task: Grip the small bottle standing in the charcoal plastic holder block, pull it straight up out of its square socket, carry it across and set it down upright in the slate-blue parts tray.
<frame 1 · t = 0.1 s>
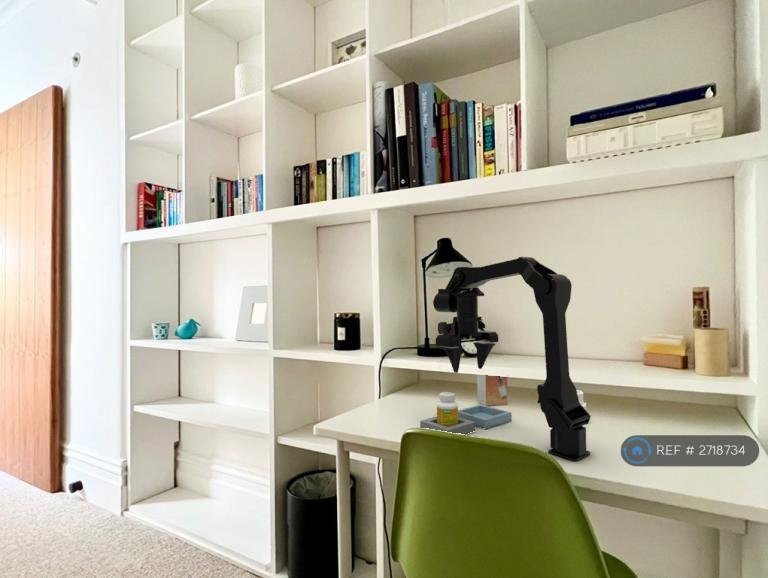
hand: (468, 370, 116), 15 cm above the table, tool pointing down, fingers open, 9 cm apart
holder: (447, 431, 111), on the table
parts tray: (482, 420, 119), on the table
pipe fitting: (573, 421, 118), on the table
small box: (492, 404, 138), on the table
supplement bottle: (447, 432, 111), resting in holder
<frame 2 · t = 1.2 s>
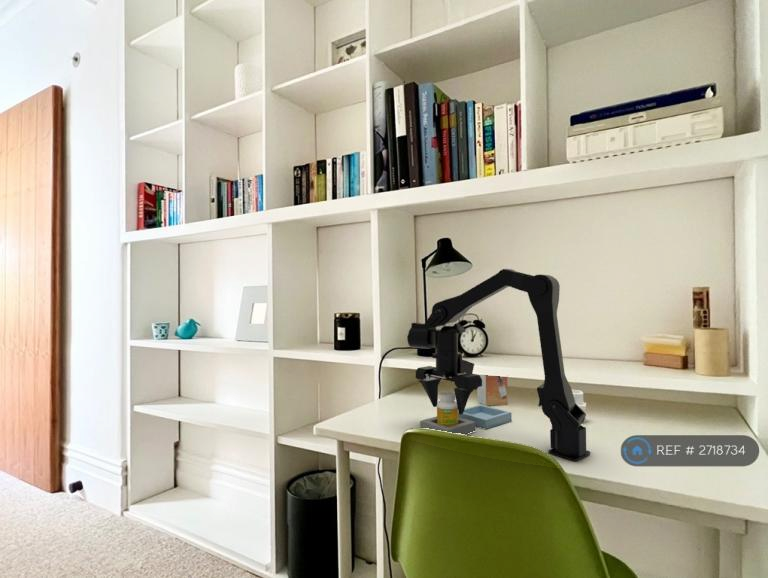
hand: (447, 410, 111), 5 cm above the table, tool pointing down, fingers open, 9 cm apart
nothing on the table moved.
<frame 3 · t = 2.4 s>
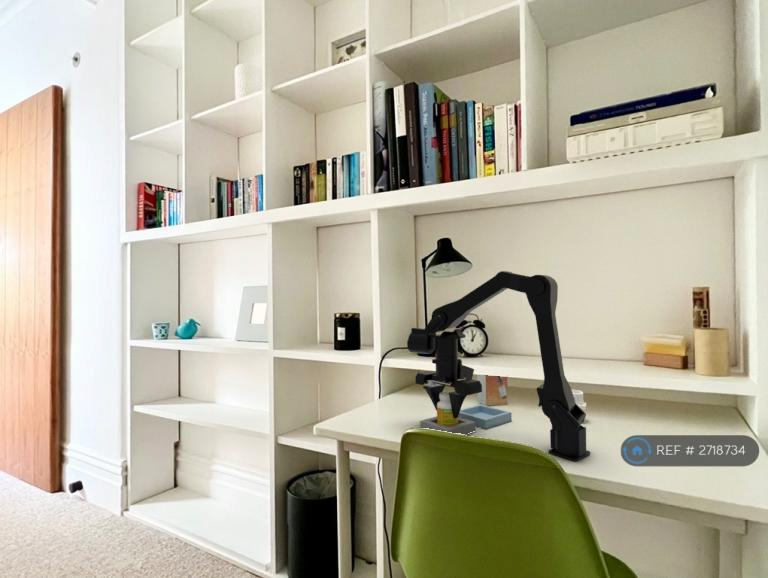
hand: (447, 415, 111), 4 cm above the table, tool pointing down, fingers closed on supplement bottle, 5 cm apart
supplement bottle: (447, 432, 111), resting in holder, touching gripper
everything else where it was.
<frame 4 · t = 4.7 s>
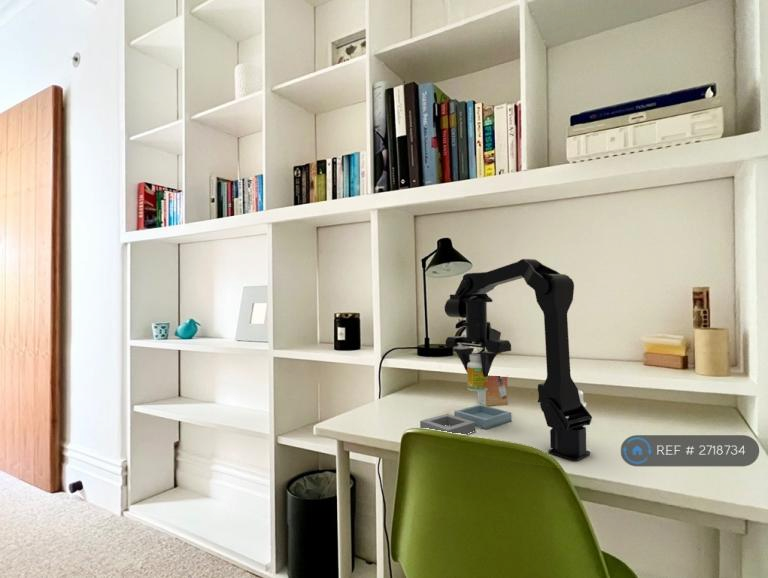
hand: (477, 375, 118), 13 cm above the table, tool pointing down, fingers closed on supplement bottle, 5 cm apart
supplement bottle: (477, 390, 118), point 9 cm above the table, touching gripper
everything else where it was.
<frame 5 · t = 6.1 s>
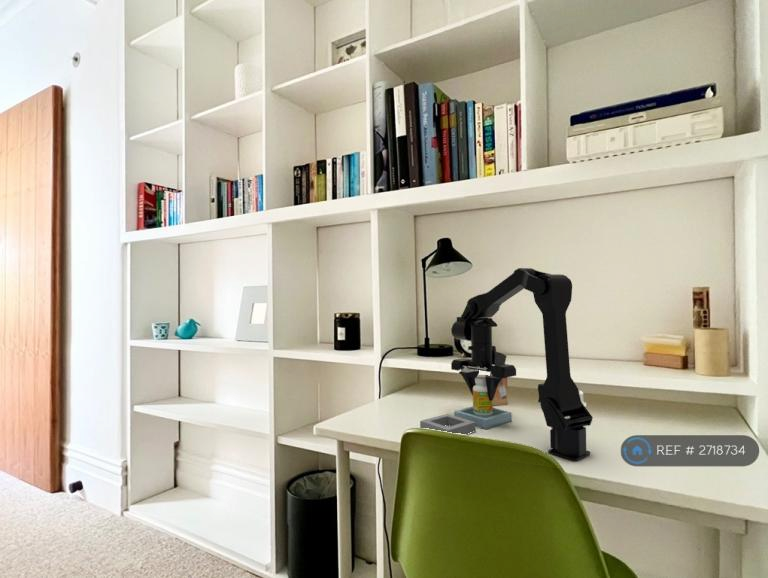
hand: (482, 398, 119), 6 cm above the table, tool pointing down, fingers closed on supplement bottle, 5 cm apart
supplement bottle: (483, 413, 119), point 2 cm above the table, touching gripper
everything else where it was.
when the fingers open (6 cm above the table, at t = 7.0 s): supplement bottle drops 1 cm, resting on parts tray.
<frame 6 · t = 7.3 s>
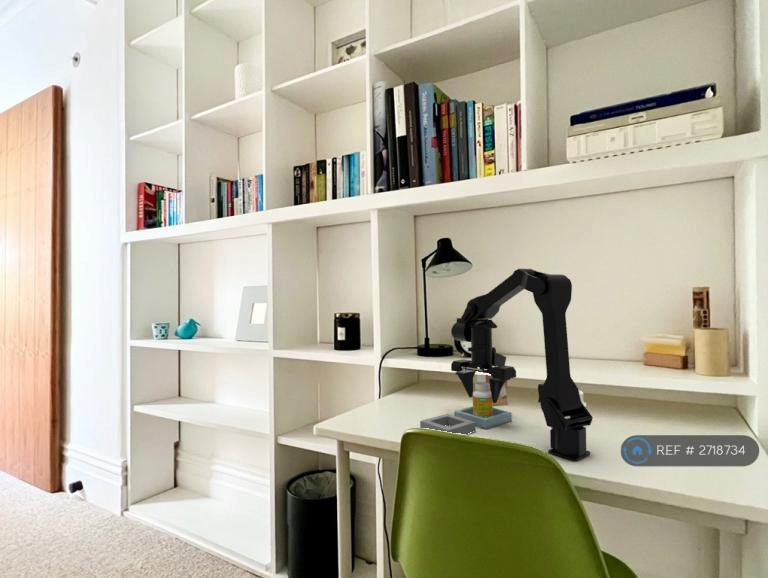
hand: (482, 399, 119), 6 cm above the table, tool pointing down, fingers open, 8 cm apart
supplement bottle: (483, 419, 119), resting on parts tray
everything else where it was.
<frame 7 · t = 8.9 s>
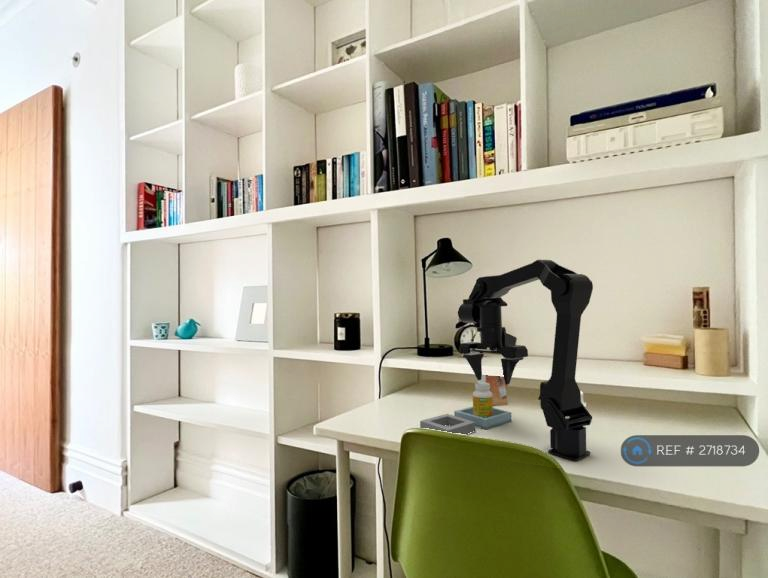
hand: (493, 382, 114), 12 cm above the table, tool pointing down, fingers open, 9 cm apart
nothing on the table moved.
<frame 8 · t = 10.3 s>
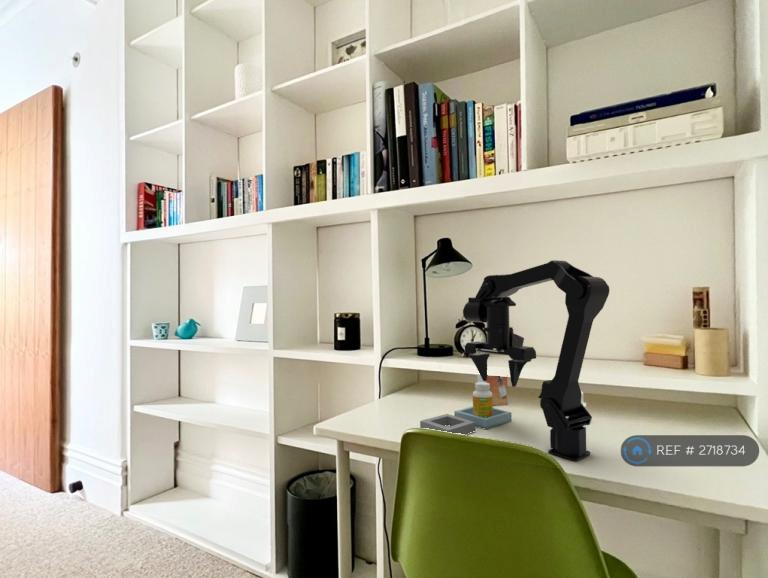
hand: (499, 383, 111), 12 cm above the table, tool pointing down, fingers open, 9 cm apart
nothing on the table moved.
at the end: supplement bottle 0.1 cm off-centre on the parts tray, point 0.4 cm above the parts tray's base; supplement bottle tilted 0°; the gripper is holding nothing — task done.
